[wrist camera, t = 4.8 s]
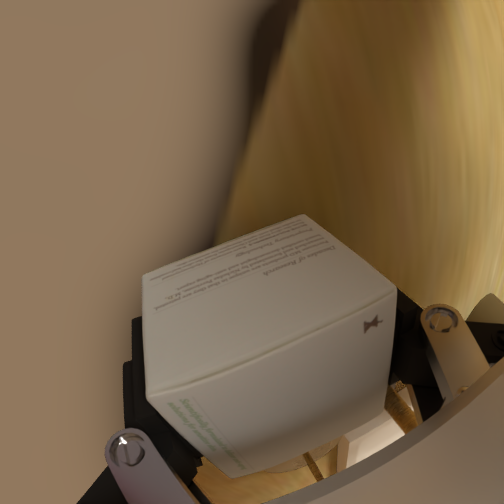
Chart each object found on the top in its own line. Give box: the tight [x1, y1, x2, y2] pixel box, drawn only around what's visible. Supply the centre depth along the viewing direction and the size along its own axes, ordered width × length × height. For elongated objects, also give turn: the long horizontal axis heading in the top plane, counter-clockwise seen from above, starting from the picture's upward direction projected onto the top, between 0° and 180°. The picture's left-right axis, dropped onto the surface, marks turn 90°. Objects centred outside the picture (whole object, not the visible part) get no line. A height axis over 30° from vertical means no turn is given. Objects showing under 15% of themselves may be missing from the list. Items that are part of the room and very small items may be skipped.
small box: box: [142, 214, 397, 479], centre depth 9 cm, size 6×6×5 cm
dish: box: [337, 387, 414, 473], centre depth 24 cm, size 12×12×2 cm
